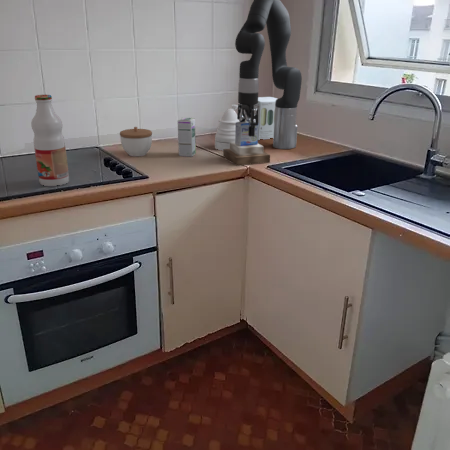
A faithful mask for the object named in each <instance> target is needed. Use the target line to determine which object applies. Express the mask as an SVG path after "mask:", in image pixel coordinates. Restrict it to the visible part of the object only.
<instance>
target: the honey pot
mask: <svg viewBox="0 0 450 450" xmlns="http://www.w3.org/2000/svg"><path fill="white" fill-rule="evenodd" d="M237 110H238V104H231V108H227V109H226V110H225V112H223V114H222V117H221V118H219V119H218V122H219V124H218V127H217V130H216V133H215V135H214V137H215V138H214V149H215V150H217V149H218V151H221V150H222V151H221V152H223V149H230V142H235V129H236V122H239V120H238V119H237V115H238V112H236V111H237Z"/></svg>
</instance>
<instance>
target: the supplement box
mask: <svg viewBox="0 0 450 450" xmlns="http://www.w3.org/2000/svg"><path fill="white" fill-rule="evenodd" d="M277 99H279V97H278V98H277V97H273V96H258V103H257V104H255V105H254V109H258V123H259V125H258V141H261V140H260V139H263V140H271V139H270V138H273V137H274V120H275V102H276V100H277ZM255 121H256V119H255Z"/></svg>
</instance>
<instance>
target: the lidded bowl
mask: <svg viewBox="0 0 450 450" xmlns="http://www.w3.org/2000/svg"><path fill="white" fill-rule="evenodd" d="M119 136H120V143H121V147H122V149H123V151H124V152H126V153H127V154H128V156H130V157H143V156H147V153H148V152H149V151H150V150H151V147H152V143H153V142H152V141H153V131H152V130H150V129H147V128H146V129H145V128H138V126H134V127H133V128H128V129H124V130H121V131H120V132H119Z"/></svg>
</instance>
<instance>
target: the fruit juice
mask: <svg viewBox="0 0 450 450" xmlns="http://www.w3.org/2000/svg"><path fill="white" fill-rule="evenodd" d="M34 100H35V102H36V103H35V104H36V110H35V115H34V116H33V118H32V119H31V129H32V132H33V135H34V136H33V148H34V154H35V161H36V169H37V175H38V181H39V184H40V185H41V186H43V185H44V187H57V186H56V185H60V186H63V185H62V184H64V185H66V183H67V184H68V183H69V182H70V174H69V173H70V172H69V166H68V157H67V149H66V142H65V137H64V135H63V132H62V130H63V121H62V119H61V118H60V117H59V116H58V115H57V113H56V112H55V110H54V108H53V105H52V104H53V103H52V101H53V97H52V95H50V94H36V95H34Z"/></svg>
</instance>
